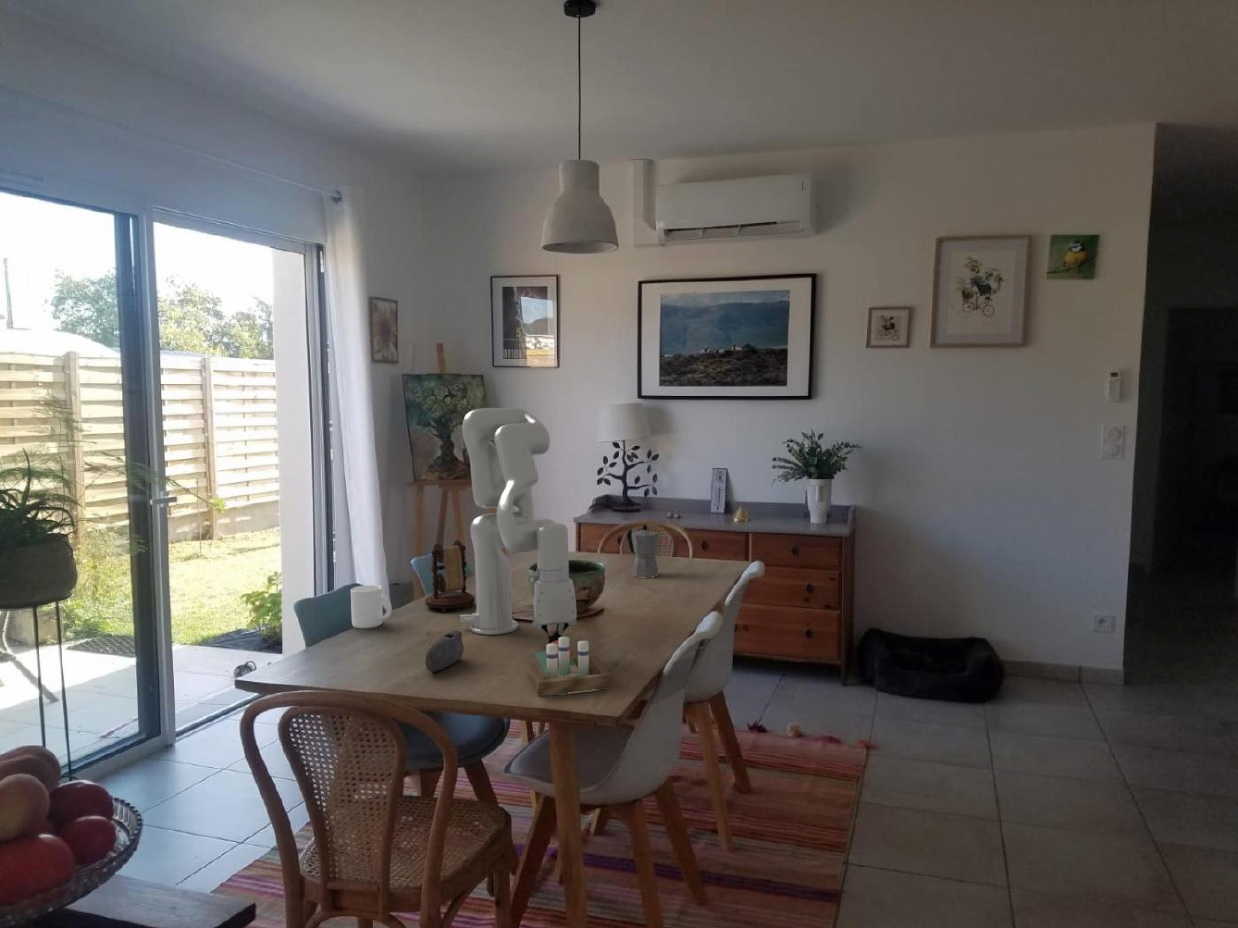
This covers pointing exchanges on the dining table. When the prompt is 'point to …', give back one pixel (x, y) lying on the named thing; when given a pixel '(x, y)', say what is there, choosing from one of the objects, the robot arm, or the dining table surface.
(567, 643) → the pin front
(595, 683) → the backstop
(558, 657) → the ball
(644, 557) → the coffeepot
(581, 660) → the pin right
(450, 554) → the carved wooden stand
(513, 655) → the dining table surface
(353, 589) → the mug
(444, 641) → the perforated stone tool
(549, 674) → the pin left
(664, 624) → the dining table surface
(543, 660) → the strip
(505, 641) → the dining table surface
